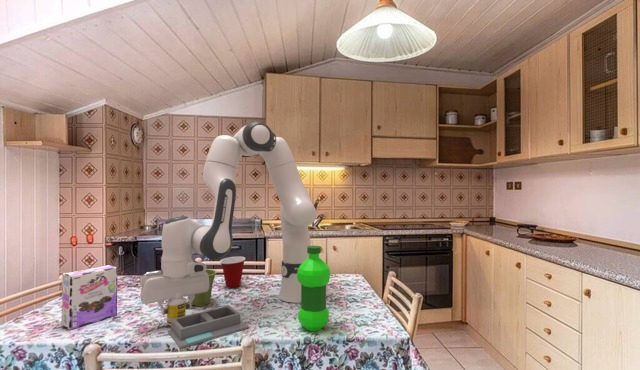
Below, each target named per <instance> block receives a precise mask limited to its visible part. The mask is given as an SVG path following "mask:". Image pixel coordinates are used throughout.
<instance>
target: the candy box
mask: <svg viewBox="0 0 640 370" xmlns="http://www.w3.org/2000/svg"><path fill="white" fill-rule="evenodd" d="M61 282H62V284H61V286H62V289H61V292H62V293H61V294H62V295H61V326H62V327H64V328H66V330H73V329H78V328H81V327H83V326H87V325H89V324H94V323H97V322H100V321H103V320H106V319H108V318H113V317H115V316H117V315H118V267H117V266H113V265H109V264H108V265H107V264H106V265H103V266H98V267H92V268H87V269H83V270H77V271H72V272H71V271H70V272H64V273H62V281H61Z"/></svg>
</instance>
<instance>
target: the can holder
mask: <svg viewBox="0 0 640 370" xmlns="http://www.w3.org/2000/svg"><path fill="white" fill-rule="evenodd" d="M170 327H171V329H167V333H168V334H169V336H170V337H171V338H172V339H173V341H174V342H175V344H176V345H177V346H178V347H179V348H180V349H184V348H187V347H191V346H194V345H198V344H200V343H201V344H202V343H204V342H208V341H211V340H214V339H218V338H220V337H224V336H227V335H228V336H229V335H230V334H234V333H237V332H240V331H245V330H246V329H247V330H249V327H250V326H249V325H248V324H246V323H244V322H243V321H242V320H241V313H240V312H238V311H237V310H235V309H234V308H232V307H231V306H230V305H226V306H221V307H217V308H212V309H209V310H204V311H200V312H196V313H193V314H189V315H186V316H183V317H179V318H175V319H171V326H170Z"/></svg>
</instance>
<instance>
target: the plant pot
mask: <svg viewBox="0 0 640 370" xmlns="http://www.w3.org/2000/svg"><path fill="white" fill-rule="evenodd" d="M206 272H207V273H208V276H209V290H208V291H207V292H204V293H199V294H195V298H194V300H193V302H192V303H191V306H196V307H200V306H205V305H207V304H209V303H210V301H211V298H212V297H211V296H212V292H213V291H212V290H213V285H214V280H215V278H216V277H215V276H216V275H217V273H218V271H217V270H216V269H210V268H207V269H206ZM187 298H188V299H189V298H190V297H189V296H187Z"/></svg>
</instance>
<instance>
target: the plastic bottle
mask: <svg viewBox="0 0 640 370" xmlns="http://www.w3.org/2000/svg"><path fill="white" fill-rule="evenodd" d="M307 253H309V258H308V259H307V260H305V261H304V262H303V263H302V264H301V265H300V267H299V269H298V271H297V278H298V281H299V282H300V284H301V303H300V305H301V306H300V308H299V311H298V314H297V320H298V322H299V324H300V325H301V326H303V328H304V329H305V328H306V329H305V330H306V331H309V330H310V332H317V331H316V330H318V331H320V330H322V329H321V328H324V327H326V325H327V324H328V322H329V321H330V320H329V319H330V318H329V317H330V311H329V308H328V306H327V297H326V284H327V285H328V284H329V282H330V278H331V268H330V266H329V265H328V264H327V263H326V262H325V260H323V259H322V258H320V254H322V249H321V245H311V246H308V247H307ZM319 329H320V330H319Z"/></svg>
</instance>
